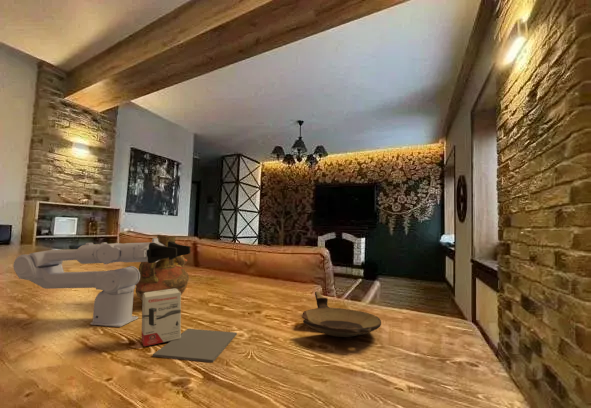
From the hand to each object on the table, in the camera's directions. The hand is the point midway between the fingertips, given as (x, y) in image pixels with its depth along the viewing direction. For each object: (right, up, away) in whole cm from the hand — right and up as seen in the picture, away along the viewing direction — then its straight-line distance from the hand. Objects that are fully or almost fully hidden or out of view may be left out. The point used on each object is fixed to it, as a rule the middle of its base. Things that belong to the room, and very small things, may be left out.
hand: (183, 251), depth 83 cm
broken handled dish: (+46, -24, +1) cm, 51 cm away
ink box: (-1, -21, -12) cm, 24 cm away
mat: (+9, -21, -13) cm, 26 cm away
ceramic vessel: (-16, -23, +22) cm, 36 cm away
